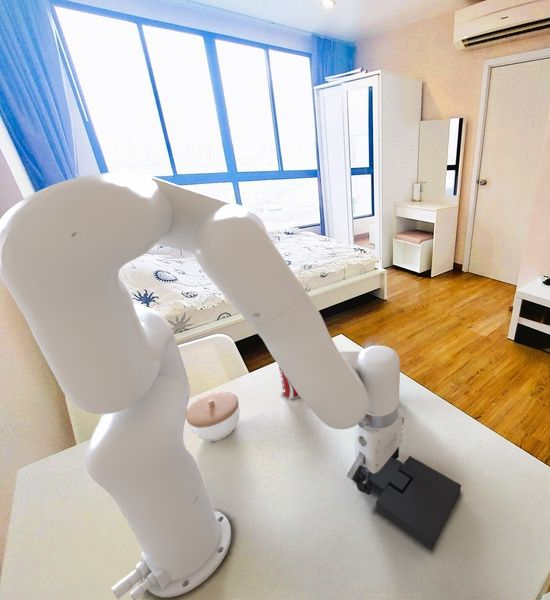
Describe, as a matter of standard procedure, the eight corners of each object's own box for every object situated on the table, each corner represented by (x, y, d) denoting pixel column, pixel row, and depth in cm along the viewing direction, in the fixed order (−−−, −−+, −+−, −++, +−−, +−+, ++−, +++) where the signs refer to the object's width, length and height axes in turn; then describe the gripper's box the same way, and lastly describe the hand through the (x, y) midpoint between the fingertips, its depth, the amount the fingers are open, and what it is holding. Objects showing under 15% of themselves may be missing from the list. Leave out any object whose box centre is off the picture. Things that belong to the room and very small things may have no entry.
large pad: (431, 550, 55) (432, 540, 54) (376, 511, 61) (375, 501, 60) (459, 494, 64) (461, 484, 63) (409, 465, 70) (409, 455, 69)
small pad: (396, 508, 62) (396, 498, 60) (356, 481, 66) (355, 471, 65) (414, 480, 67) (415, 470, 66) (376, 457, 72) (376, 447, 71)
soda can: (300, 399, 88) (294, 363, 83) (281, 399, 88) (274, 363, 83) (305, 387, 92) (300, 352, 87) (287, 386, 92) (281, 351, 87)
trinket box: (225, 408, 84) (217, 380, 80) (253, 424, 80) (246, 394, 76) (183, 437, 76) (172, 407, 72) (212, 456, 71) (202, 425, 67)
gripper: (364, 451, 51) (366, 518, 58) (419, 391, 64) (415, 451, 71) (330, 430, 55) (336, 495, 62) (388, 377, 68) (388, 436, 75)
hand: (378, 471), depth 67 cm, fingers open, 9 cm apart
